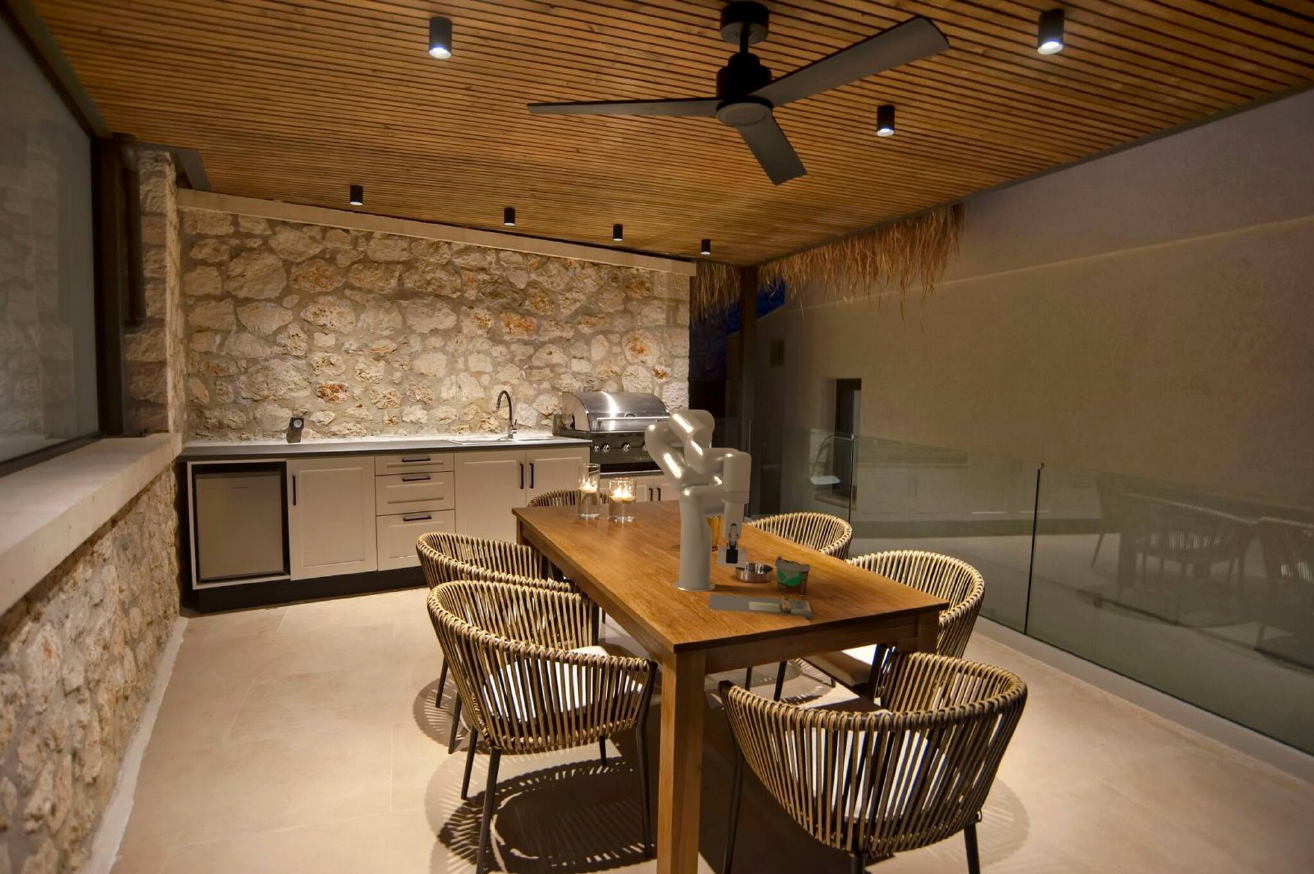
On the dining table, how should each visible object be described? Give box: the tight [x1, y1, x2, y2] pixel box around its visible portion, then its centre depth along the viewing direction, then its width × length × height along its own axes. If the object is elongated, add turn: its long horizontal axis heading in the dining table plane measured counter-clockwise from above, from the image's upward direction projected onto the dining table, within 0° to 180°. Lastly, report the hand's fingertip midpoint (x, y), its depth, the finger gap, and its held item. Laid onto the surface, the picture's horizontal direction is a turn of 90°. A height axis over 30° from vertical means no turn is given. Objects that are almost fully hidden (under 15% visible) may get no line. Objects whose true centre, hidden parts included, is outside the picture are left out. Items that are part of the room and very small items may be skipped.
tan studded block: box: [716, 545, 748, 569], centre depth 197 cm, size 6×8×4 cm
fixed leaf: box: [780, 595, 812, 615], centre depth 195 cm, size 10×8×2 cm
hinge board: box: [707, 593, 813, 621], centre depth 198 cm, size 14×28×1 cm, turn 84°
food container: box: [774, 555, 811, 597], centre depth 214 cm, size 12×6×10 cm, turn 37°
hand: (731, 559), depth 197 cm, fingers closed on tan studded block, 6 cm apart
